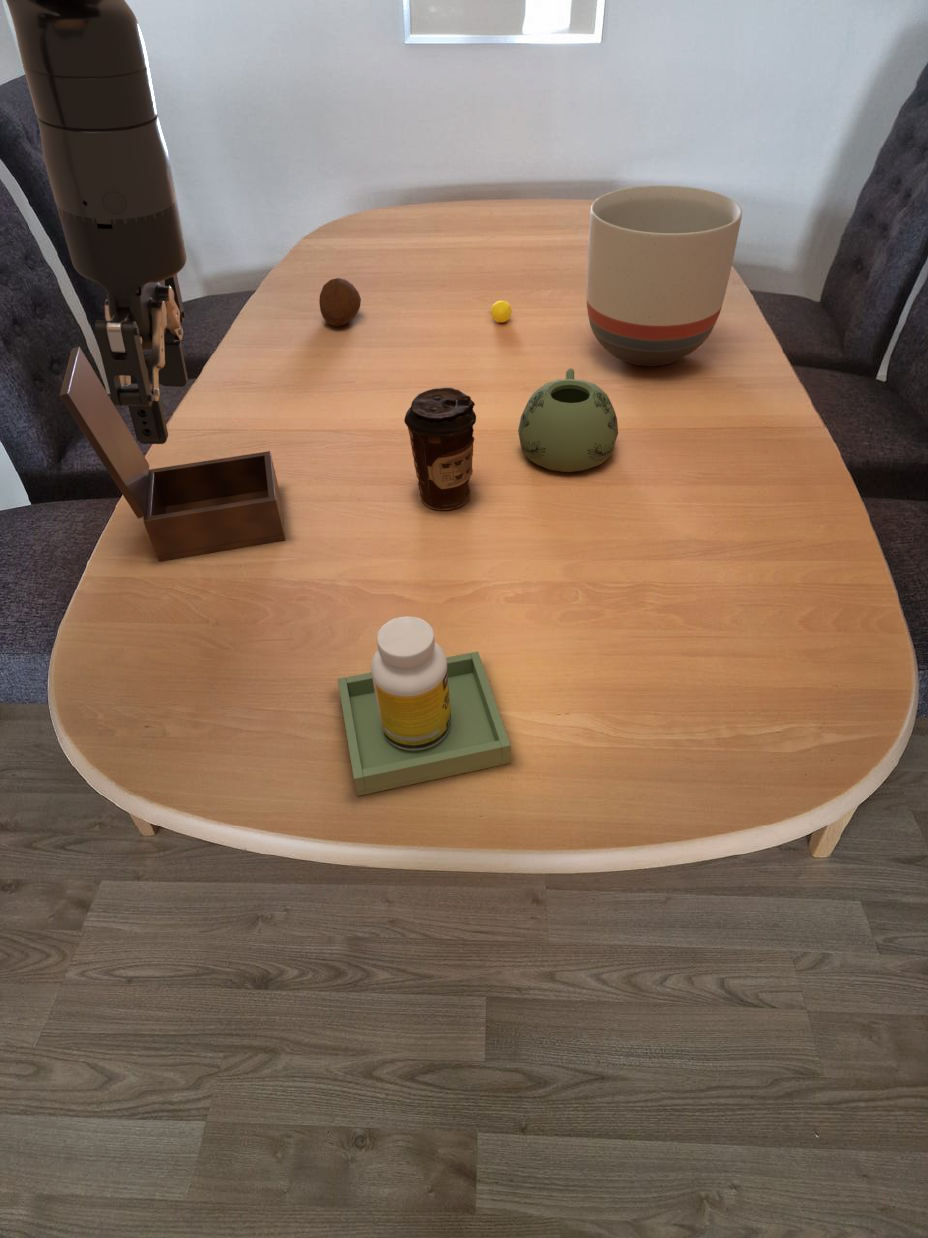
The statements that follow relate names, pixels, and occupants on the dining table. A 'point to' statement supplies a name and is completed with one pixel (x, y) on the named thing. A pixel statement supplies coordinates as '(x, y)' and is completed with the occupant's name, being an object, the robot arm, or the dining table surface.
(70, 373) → the lid
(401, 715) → the pill bottle
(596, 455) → the green ceramic domed vessel
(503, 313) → the yellow rounded lump
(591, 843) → the dining table surface
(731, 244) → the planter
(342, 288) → the potato
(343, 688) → the tray
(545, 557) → the dining table surface
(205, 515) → the brown wooden box
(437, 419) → the coffee cup
